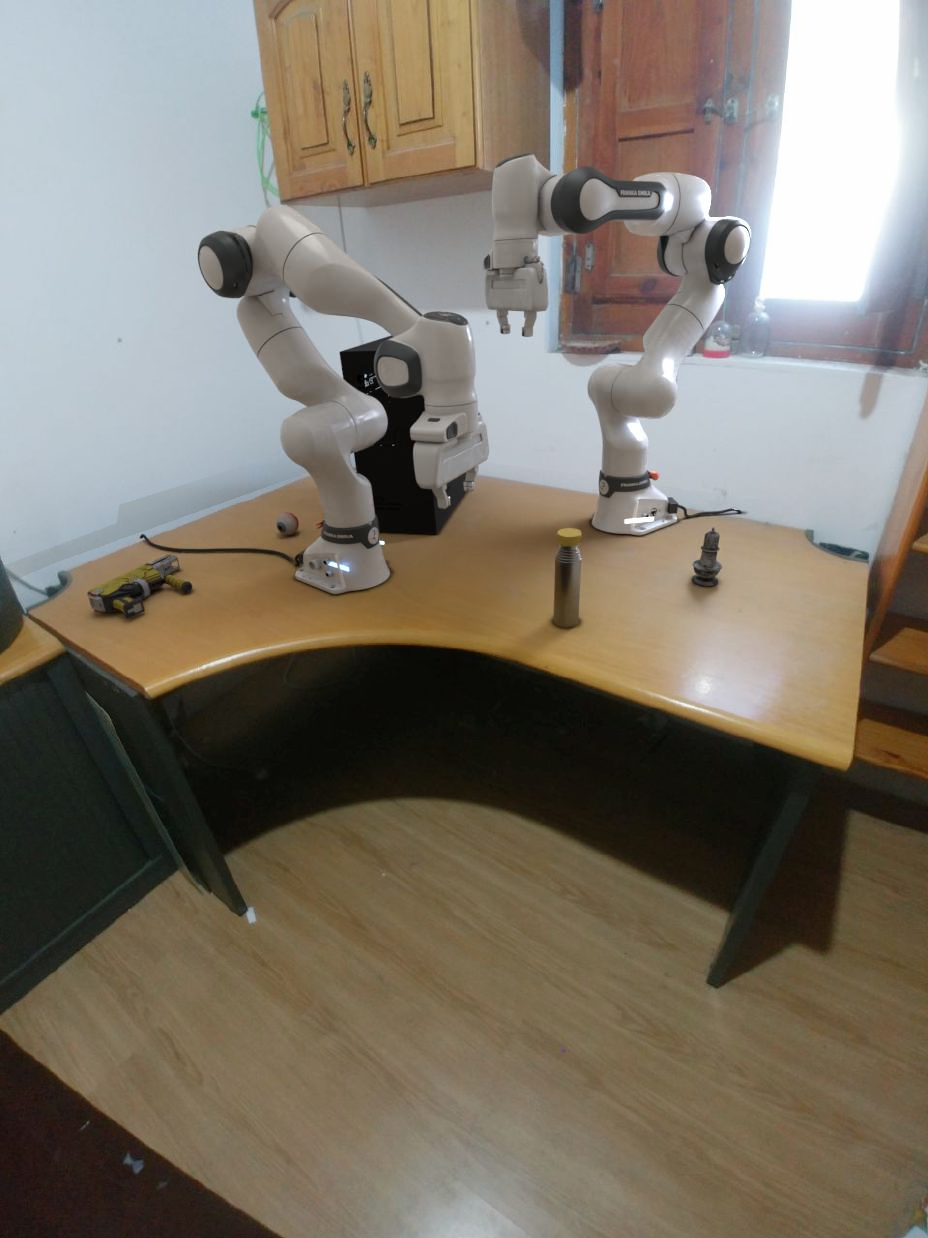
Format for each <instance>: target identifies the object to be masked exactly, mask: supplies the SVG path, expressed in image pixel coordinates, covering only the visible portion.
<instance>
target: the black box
mask: <svg viewBox="0 0 928 1238" xmlns="http://www.w3.org/2000/svg"><path fill="white" fill-rule="evenodd" d="M391 338H393V336H392V335H391V334H390V335H388V336H384V337H382V338H379V339H376V340H373V341H368V342H366V343H363V344H359V345H356V346H354V347H351V348H347V349H343V350H341V351H339V359H340V367H341V372H342V378H343V379H344V380H345V381H346V382H348V383H349V384H350V385H351V386H353V387H354V388H355V389H357V390H359V391H360V392H362V393H364V394H366V395H369V396H372V397H374V398H375V399H377V400H378V401H379V402H380V403H381V404H382V406H383V408H384V409H385V412H386V415H387V421H388V425H387V430H386V433H385V434H384V436H383V437H382V438H381V439H379V440H378V441H377V442H376V443H374V444H373V445H371V446H370V447H368V448H366V449H363V450H360V451H357V452H355V453H353V458H354V463H355V464H354V465H355V470H356V471H355V472H356V473H359V474H361V475H363V476H364V477H366V478H367V479H368V480H369V482H370V484H371V487H372V494H373V502H374V509H375V514H376V515H377V518H378V524H379V533H393V534H394V533H395V534H416V535H417V534H419V535H438V533H439V532H440V530H441V529H442V528H443V526H444V525H445V523H447V520H448V519H449V518H450V516H451V514H452V513H453V512H454V511H455V509H456V508H457V506H458V505H459V503H460V502H461V500H462V499H463V497H464V496H465V495H466V493H467V492H466V491H464V485H463V482H464V481H465V479H466V472H465V473H464V474H462V475H460V476H459V477H457V478H455V479H453V480H452V481H450V482H448V483H447V489H446V490H445V491H446V494H447V496H450V503H451V505H450V506H449V507H447V508H446V509H443V508H439V507H438V502H437V498H436V496H435V494H434V492H433V491H432V489H425V488H421V487H420V486H419V485H418V483H417V481H416V476H415V469H414V458H413V448H414V444H415V443H416V441H415V440H412V439H411V436H410V429H411V427H412V426H413V425H414V423H415V422H416V421H417V420H418V419H419V418H420V416H421V415H422V413H423V412H424V411H425V401H424V397H423V396H422V395H416V396H412V397H408V398H395V397H392V396H390V395H388V394H387V393H386V392H385V391H384V390H383V389H382V388H381V386H380V385H379V383H378V381H377V378H376V375H375V371H374V358H375V354H376V351H377V349H378V347H379V345H380V344H381V343H382V342H384V341H387V340H388V339H391Z"/></svg>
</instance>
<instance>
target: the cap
mask: <svg viewBox="0 0 928 1238" xmlns="http://www.w3.org/2000/svg"><path fill="white" fill-rule="evenodd" d="M556 543H557V544H558V545H559V546H560V545H562V546H567V547H571V546H579V545H580V544H581V543H582V531H581V530H580V529H578V528H573V527H564V528H561V529H559V530H557V533H556Z"/></svg>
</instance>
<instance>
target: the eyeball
mask: <svg viewBox="0 0 928 1238" xmlns="http://www.w3.org/2000/svg"><path fill="white" fill-rule="evenodd" d="M299 525H300V522H299V519H298V517H297V516H296V515H295V514H294V513H292V512H287V511H286V512H282V513H280V514H279V515H278V516H277V517H276V520H275V527H276V529H277V530H278V531H279V532H280V533H281V534H282V535H285V536H286V535H287V536H289V535H293V534H295V533H296V532H297V531H298V529H299Z"/></svg>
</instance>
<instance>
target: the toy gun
mask: <svg viewBox="0 0 928 1238" xmlns="http://www.w3.org/2000/svg"><path fill="white" fill-rule="evenodd" d="M175 562H176V563H177V566H176V565H173V563H175ZM180 569H181V566H180V561H179V557H178V556H177V555H176V554H172V555H171V553H167V554H166V555H164V556H161V557H159V558H157V559H155V560H153V561H151V562H148V563H147V562H146V563H145V564H142V565H140V566H138V567H136V568H134V569H132V570H130V571H127V572H126V573H123V574H122V575H119V576H117V577H115V578H113V579H111V580H108V581H107V582H104V583H103V584H100V585H98V586H96V587H94V588H92V589H90V590H88V591H87V592H86V593H87V597H88V601H89V605H90V608H91V609H92V610H94V612H95V613H99V614H101V613H112V612H116V611H121V612H123V613H124V616H125V617H124V618H125V619H127V620H129V619H131V618H134V617H135V616H138V615H140V614H143V613H145V607H144V602H143V599H145V598H147V597H149V596H150V595H151V591H154V590H156V589H159V588H162V587H163V586H164V585H165V584H166V585H167V586H170V587H172V588H174V589H177V590H179V591H182V592H183V593H186V594H187V593H189V592H191V591H192V590H193V584H192V582H190V581H188V580H184V579H181V578H179V577H178V576H174V575H173V573H174V572H176V571H177V570H180Z"/></svg>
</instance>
